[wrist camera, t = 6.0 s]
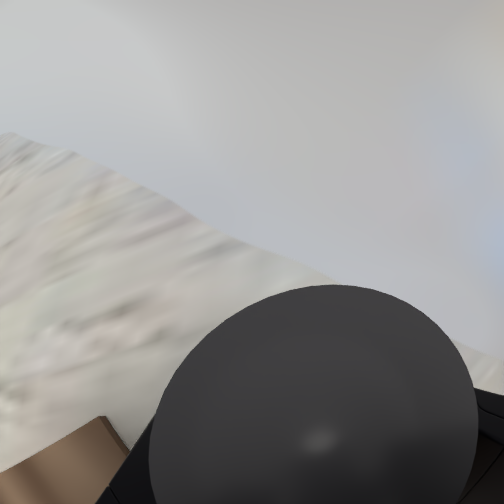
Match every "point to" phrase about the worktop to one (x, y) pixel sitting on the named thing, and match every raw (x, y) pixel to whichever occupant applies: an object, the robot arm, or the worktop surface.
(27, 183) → the worktop surface
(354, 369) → the grey capped bottle
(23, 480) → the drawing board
